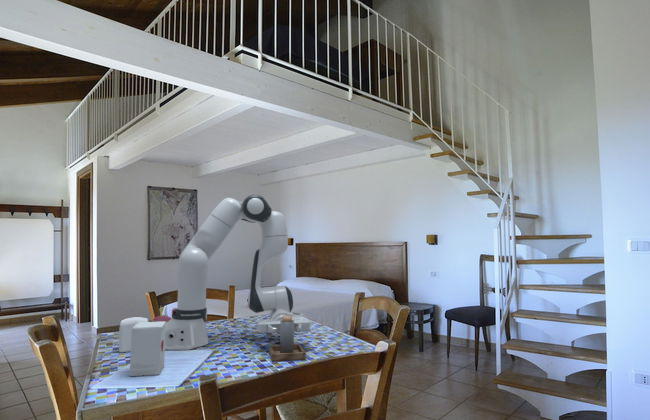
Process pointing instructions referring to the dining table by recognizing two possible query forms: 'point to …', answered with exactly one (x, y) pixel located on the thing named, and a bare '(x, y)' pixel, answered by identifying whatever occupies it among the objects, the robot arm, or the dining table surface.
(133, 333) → the supplement box
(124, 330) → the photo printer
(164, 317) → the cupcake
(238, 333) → the dining table surface
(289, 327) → the canister
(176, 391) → the dining table surface
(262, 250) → the robot arm
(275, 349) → the tray
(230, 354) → the dining table surface
